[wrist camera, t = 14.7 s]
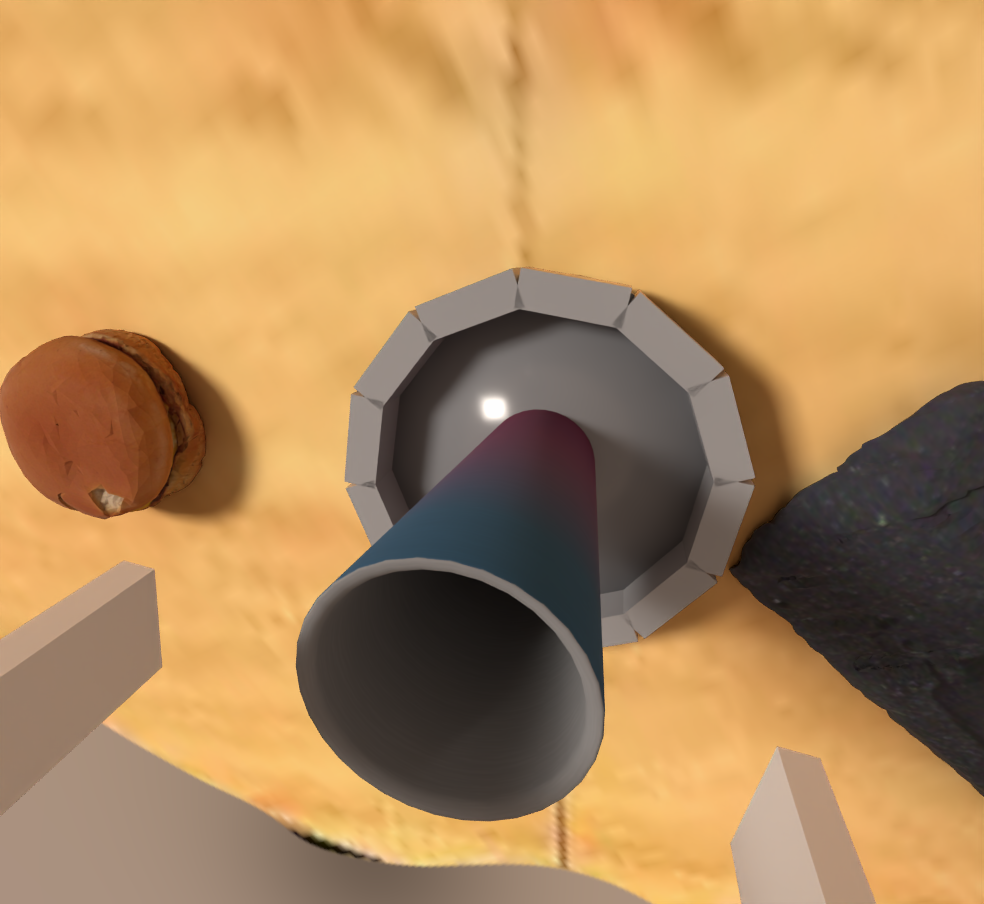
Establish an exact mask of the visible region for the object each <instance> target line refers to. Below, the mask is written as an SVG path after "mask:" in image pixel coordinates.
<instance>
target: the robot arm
mask: <svg viewBox="0 0 984 904" xmlns="http://www.w3.org/2000/svg"><path fill="white" fill-rule="evenodd" d="M161 667H162V658H161V645H160V632H159V620H158V607H157V594H156V582H155V569H152V568H148V567H145V566H141V565H138V564H134V563H131V562H127V561H122V562H121V563H119V564H117V565H116V566H114V567H113V568H111V569H110V570H108V571H107V572H105V573H103V574H102V575H100V576H99V577H97V578H96V579H94V580H92V581H91V582H89V583H88V584H86V585H85V586H83V587H82V588H80V589H78V590H77V591H75V592H74V593H72V594H71V595H69V596H67V597H66V598H64V599H63V600H61V601H60V602H58V603H56V604H55V605H53V606H52V607H50V608H49V609H47V610H46V611H44V612H42V613H41V614H39V615H38V616H36V617H35V618H33V619H31V620H30V621H28V622H27V623H25V624H24V625H22V626H21V627H19V628H17V629H16V630H14V631H13V632H11V633H10V634H8V635H6V636H5V637H3V638H2V639H0V816H1V815H3V814H4V813H5V812H6V811H7V810H8V809H9V808H10V807H11V806H12V805H13V804H14V803H15V802H17V801H18V800H19V799H20V798H21V797H22V796H23V795H24V794H25V793H26V792H27V791H28V790H30V789H31V788H32V787H33V786H34V785H35V784H36V783H37V782H38V781H39V780H40V779H41V778H42V777H44V776H45V775H46V774H47V773H48V772H49V771H50V770H51V769H52V768H53V767H54V766H55V765H56V764H58V763H59V762H60V761H61V760H62V759H63V758H64V757H65V756H66V755H67V754H68V753H70V752H71V751H72V750H73V749H74V748H75V747H76V746H77V745H78V744H79V743H80V742H81V741H82V740H84V738H86V737H87V736H88V735H89V734H90V733H91V732H92V731H93V730H94V729H95V728H97V727H98V726H99V725H100V724H101V723H102V722H103V721H104V720H105V719H106V718H107V717H108V716H110V715H111V714H112V713H113V712H114V711H115V710H116V709H117V708H118V707H119V706H120V705H121V704H123V703H124V702H125V701H126V700H127V699H128V698H129V697H130V696H131V695H132V694H133V693H134V692H135V691H137V690H138V689H139V688H140V687H141V686H142V685H143V684H144V683H145V682H146V681H147V680H148V679H150V678H151V677H152V676H153V675H154V674H155V673H156V672H157V671H158V670H159V669H160V668H161ZM731 849H732V854H733V860H734V865H735V871H736V876H737V882H738V887H739V893H740V898H741V904H876V902H875V899H874V896H873V894H872V891H871V889H870V886H869V884H868V881H867V878H866V876H865V873H864V871H863V868H862V865H861V863H860V860H859V858H858V855H857V852H856V850H855V847H854V845H853V842H852V840H851V837H850V834H849V832H848V829H847V827H846V824H845V821H844V819H843V816H842V814H841V811H840V809H839V806H838V803H837V801H836V798H835V796H834V793H833V790H832V788H831V785H830V783H829V780H828V777H827V775H826V772H825V770H824V767H823V765H822V762H821V759H820V758H817V757H813V756H810V755H806V754H803V753H799V752H796V751H792V750H789V749H785V748H782V747H778V746H777V748H776V750H775V752H774V754H773V756H772V758H771V760H770V762H769V764H768V766H767V768H766V770H765V773H764V775H763V777H762V779H761V781H760V783H759V785H758V787H757V789H756V791H755V793H754V795H753V797H752V800H751V802H750V804H749V806H748V808H747V810H746V812H745V814H744V816H743V818H742V820H741V822H740V824H739V827H738V829H737V831H736V833H735V835H734V837H733V839H732V841H731Z"/></svg>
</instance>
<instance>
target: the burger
mask: <svg viewBox="0 0 984 904" xmlns="http://www.w3.org/2000/svg"><path fill="white" fill-rule="evenodd" d="M0 418H1V423H2V426H3V429H4V432H5V436H6V439H7V442H8V445H9V448H10V451H11V453H12V455H13V457H14V459H15V460H16V462H17V464H18V466H19V467H20V469H21V471H22V472H23V474H24V476H25V477H26V478H27V479H28V480H29V481H30V483H31V484H32V485H33V486H34V487H35V488H36V489H37V490H38V491H39V492H40V493H42V494H43V495H44V496H45V497H47V498H48V499H50V500H52V501H53V502H55V503H57V504H59V505H61V506H63V507H65V508H68V509H72V510H76V511H80V512H82V513H84V514H87V515H90V516H93V517H97V518H101V519H107V518H109V517H113V516H119V515H122V514H125V513H128V512H133V511H140V510H144V509H146V508H148V507H151V506H155V505H156V504H158V503H159V502H160V501H161V499H162V498H163V497H164V496H167V495H170V494H171V493H174V492H178V491H180V490H182V489H183V488H185V487H186V486H188V485H189V484H190V483H191V482H192V481H193V479H194V477H195V476H196V474H197V473H198V472H199V469H200V468H201V466H202V464H201V460H202V458H203V457H204V456H205V446H206V441H205V432H204V428H203V423H202V420H201V419H200V415H199V414H198V412H197V410H196V409H195V408H194V406H192V405H191V404H189V403H188V397H187V393H186V392H185V388H184V385H183V383H182V380H181V378H180V376H179V375H178V373H177V372H176V371H175V370H173V367H172V365H171V364H170V362H169V361H168V360H167V359H166V358H165V357H164V356H163V355H162V354H161V351H160V349H159V348H158V347H157V346H156V345H155V344H154V343H152V342H151V341H150V340H148V339H147V338H145V337H143V336H140V335H137V334H133V333H130V332H127V331H124V330H112V329H105V330H98V331H94V332H91V333H88V334H84V335H83V336H81V337H78V336H64V337H61V338H58V339H54V340H51V341H49V342H47V343H45V344H43V345H41V346H39V347H38V348H36V349H35V350H34V351H32V352H31V353H29V354H28V355H27V356H26V357H23V358H22V359H21V360H20V361H19V362H18V363H17V364H15V365H14V366H13V367H12V368H11V369H10V371H9V372H8V374H7V375H6V377H5V379H4V382H3V384H2V386H1V388H0Z"/></svg>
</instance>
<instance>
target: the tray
mask: <svg viewBox="0 0 984 904" xmlns="http://www.w3.org/2000/svg"><path fill="white" fill-rule="evenodd" d="M631 290H632V286H631V285H626V284H620V283H615V282H609V281H604V280H598V279H594V278H590V277H586V276H582V275H574V274H566V273H560V272H555V271H549V270H544V269H538V268H533V267H522V268H512V269H509V270H507V271H504V272H502V273H499V274H497V275H494V276H492V277H489V278H487V279H484V280H481V281H479V282H476V283H474V284H471V285H469V286H466V287H464V288H461V289H459V290H456V291H453V292H451V293H448V294H446V295H443V296H441V297H438V298H436V299H433V300H430V301H428V302H425V303H423V304H420V305H418V306H415V308H416V310H413V311H409V312H408V313H407V315H406V316H405V317H404V319H403V320H402V321H401V323H400V324H399V326H398V327H397V328H396V330H395V331H394V332H393V334H392V335H391V337H390V338H389V339H388V341H387V342H386V343H385V345H384V346H383V348H382V349H381V350H380V352H379V353H378V354H377V356H376V357H375V359H374V360H373V361H372V363H371V364H370V365H369V367H368V368H367V370H366V371H365V372H364V374H363V375H362V376H361V378H360V379H359V381H358V382H357V383H356V385H355V386H354V388H355V389H356V390H357V392H355V393H353V394H351V403H350V416H349V429H348V443H347V456H346V469H345V482H349V483H352V484H350V485H349V486H348V487H347V488H346V490H347V492H348V494H349V497H350V499H351V501H352V503H353V505H354V508H355V510H356V512H357V514H358V517H359V519H360V521H361V523H362V526H363V528H364V530H365V532H366V534H367V537H368V539H369V541H370V543H371V546H373V545H374V544H375V543H376V542H377V541H378V540H379V539H380V538H381V537H382V536H383V535H384V534H385V533H386V532H387V531H388V530H389V529H390V528H392V527H393V526H394V525H395V524H396V523H397V522H398V521H399V520H400V519H401V518H402V517H403V516H404V515H405V514H406V513H407V512H408V511H409V510H410V509H412V508H413V507H414V506H415V505H416V504H417V503H418V502H419V501H420V500H421V499H422V498H423V497H424V496H425V495H426V494H427V493H428V492H429V491H431V490H432V489H433V488H434V487H435V486H436V485H437V484H438V483H439V482H440V481H441V480H442V479H443V478H444V477H445V476H446V475H447V474H448V473H449V472H451V471H452V470H453V469H454V468H455V467H456V466H457V465H458V464H459V463H460V462H461V461H462V460H463V459H464V458H465V457H466V456H467V455H468V454H470V453H471V452H472V451H473V450H474V449H475V448H476V447H477V446H478V445H479V444H480V443H481V442H482V441H483V440H484V439H485V438H486V437H487V436H488V435H490V434H491V433H492V432H493V431H494V430H495V429H496V428H497V427H498V426H499V425H500V424H501V423H502V422H503V421H504V420H506V419H507V418H509V417H511V416H512V415H514V414H517V413H520V412H522V411H527V410H533V409H538V410H548V411H553V412H557V413H559V414H561V415H563V416H566V417H567V418H569V419H570V420H572V421H573V422H575V423H576V424H577V425H578V426H579V427H580V428H581V429H582V430H583V431H584V433H585V434H586V436H587V437H588V439H589V441H590V443H591V446H592V448H593V452H594V457H595V472H596V498H597V523H598V548H599V573H600V599H601V624H602V647H608V646H614V645H620V644H626V643H632V642H638V633H639V634H640V635H641V636H642V637H643V638H644V639H645V638H646V637H648V636H649V635H650V634H651V633H653V632H654V631H655V630H657V629H658V628H659V627H660V626H662V625H663V624H664V623H666V622H667V621H668V620H670V619H671V618H672V617H673V616H675V615H676V614H677V613H679V612H680V611H681V610H683V609H684V608H685V607H686V606H688V605H689V604H690V603H692V602H693V601H694V600H696V599H697V598H698V597H699V596H701V595H702V594H703V593H705V592H706V591H707V590H708V589H710V588H711V587H712V586H714V585H715V584H716V583H717V580H716V576H715V575H718V576H722V575H723V572H724V569H725V567H726V564H727V561H728V558H729V556H730V553H731V550H732V547H733V545H734V542H735V539H736V536H737V534H738V531H739V528H740V525H741V523H742V520H743V517H744V514H745V512H746V509H747V506H748V503H749V501H750V498H751V495H752V492H753V490H754V487H755V485H754V484H753V482H752V480H751V479H752V478H755V475H754V471H753V467H752V463H751V459H750V455H749V451H748V447H747V444H746V440H745V436H744V432H743V428H742V424H741V420H740V416H739V413H738V409H737V405H736V401H735V397H734V393H733V389H732V385H731V382H730V378H729V375H728V374H727V373H726V372H725V371H724V370H723V369H724V367H723V366H722V365H721V364H720V363H719V362H718V361H717V360H716V359H715V358H714V357H713V356H712V355H711V354H710V353H709V352H708V351H707V350H705V349H704V348H703V347H702V346H701V345H700V344H699V343H698V342H697V341H696V340H694V339H693V338H692V337H691V336H690V335H689V334H688V333H687V332H686V331H684V330H683V329H682V328H681V327H680V326H679V325H678V324H677V323H676V322H675V321H674V320H673V319H671V318H670V317H669V316H668V315H667V314H666V313H665V312H664V311H662V310H661V309H660V308H659V307H658V306H657V305H656V304H655V303H654V302H652V301H651V300H650V299H649V298H648V297H647V296H646V295H645V294H644V293H643V292H641V291H640V290H638V291H637V292H636V293H635V294H634V293H633V292H631Z"/></svg>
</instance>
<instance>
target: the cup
mask: <svg viewBox="0 0 984 904" xmlns="http://www.w3.org/2000/svg"><path fill="white" fill-rule="evenodd" d="M296 670H297V676H298V682H299V688H300V692H301V695H302V698H303V701H304V703H305V706H306V709H307V711H308V714H309V716H310V718H311V719H312V721H313V723H314V724H315V726H316V728H317V730H318V731H319V733H320V735H321V736H322V738H323V739H324V740H325V742H326V743H327V744H328V745H329V746H330V748H331V749H332V750H333V751H334V752H335V754H336V755H337V756H338V757H339V758H340V759H341V760H342V761H343V762H344V763H345V764H346V765H347V766H348V767H349V768H351V769H352V770H353V771H354V772H355V773H356V774H357V775H358V776H359V777H361V778H362V779H364V780H365V781H367V782H368V783H369V784H371V785H372V786H374V787H375V788H377V789H378V790H380V791H381V792H383V793H384V794H386V795H388V796H390V797H392V798H394V799H396V800H398V801H400V802H402V803H404V804H406V805H408V806H411V807H414V808H417V809H420V810H423V811H426V812H429V813H431V814H434V815H439V816H444V817H449V818H454V819H460V820H472V821H496V820H505V819H513V818H518V817H522V816H525V815H528V814H531V813H534V812H538V811H541V810H543V809H545V808H546V807H548V806H550V805H552V804H554V803H555V802H557V801H559V800H561V799H563V798H564V797H565V796H566V795H567V794H568V793H570V792H571V791H572V790H573V789H574V788H575V787H576V786H577V785H578V784H579V783H580V782H582V780H583V779H584V777H585V776H586V774H587V773H588V771H589V769H590V768H591V766H592V765H593V763H594V762H595V760H596V757H597V754H598V751H599V748H600V745H601V742H602V739H603V736H604V717H605V700H604V674H603V649H602V624H601V599H600V573H599V548H598V523H597V498H596V472H595V457H594V452H593V448H592V446H591V443H590V441H589V439H588V437H587V436H586V434H585V433H584V431H583V430H582V429H581V428H580V427H579V426H578V425H577V424H576V423H575V422H573V421H572V420H570V419H569V418H567V417H566V416H563V415H561V414H559V413H557V412H553V411H548V410H538V409H533V410H527V411H522V412H520V413H517V414H514V415H512V416H511V417H509V418H507V419H506V420H504V421H503V422H502V423H501V424H500V425H499V426H498V427H497V428H496V429H495V430H494V431H493V432H492V433H491V434H490V435H488V436H487V437H486V438H485V439H484V440H483V441H482V442H481V443H480V444H479V445H478V446H477V447H476V448H475V449H474V450H473V451H472V452H471V453H470V454H468V455H467V456H466V457H465V458H464V459H463V460H462V461H461V462H460V463H459V464H458V465H457V466H456V467H455V468H454V469H453V470H452V471H451V472H449V473H448V474H447V475H446V476H445V477H444V478H443V479H442V480H441V481H440V482H439V483H438V484H437V485H436V486H435V487H434V488H433V489H432V490H431V491H429V492H428V493H427V494H426V495H425V496H424V497H423V498H422V499H421V500H420V501H419V502H418V503H417V504H416V505H415V506H414V507H413V508H412V509H410V510H409V511H408V512H407V513H406V514H405V515H404V516H403V517H402V518H401V519H400V520H399V521H398V522H397V523H396V524H395V525H394V526H393V527H392V528H390V529H389V530H388V531H387V532H386V533H385V534H384V535H383V536H382V537H381V538H380V539H379V540H378V541H377V542H376V543H375V544H374V545H373V546H371V547H370V548H369V549H368V550H367V551H366V552H365V553H364V554H363V555H362V556H361V557H360V558H359V559H358V560H357V561H356V562H355V563H354V564H353V565H351V566H350V567H349V568H348V569H347V570H346V571H345V572H344V573H343V574H342V575H341V576H340V577H339V578H338V579H337V580H336V581H335V582H334V583H333V584H331V585H330V586H329V587H328V588H327V589H326V590H325V591H324V592H323V593H322V594H321V595H320V596H319V597H318V598H317V599H316V601H315V602H314V604H313V606H312V607H311V609H310V611H309V612H308V614H307V616H306V617H305V619H304V622H303V625H302V629H301V632H300V635H299V638H298V642H297V656H296Z"/></svg>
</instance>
